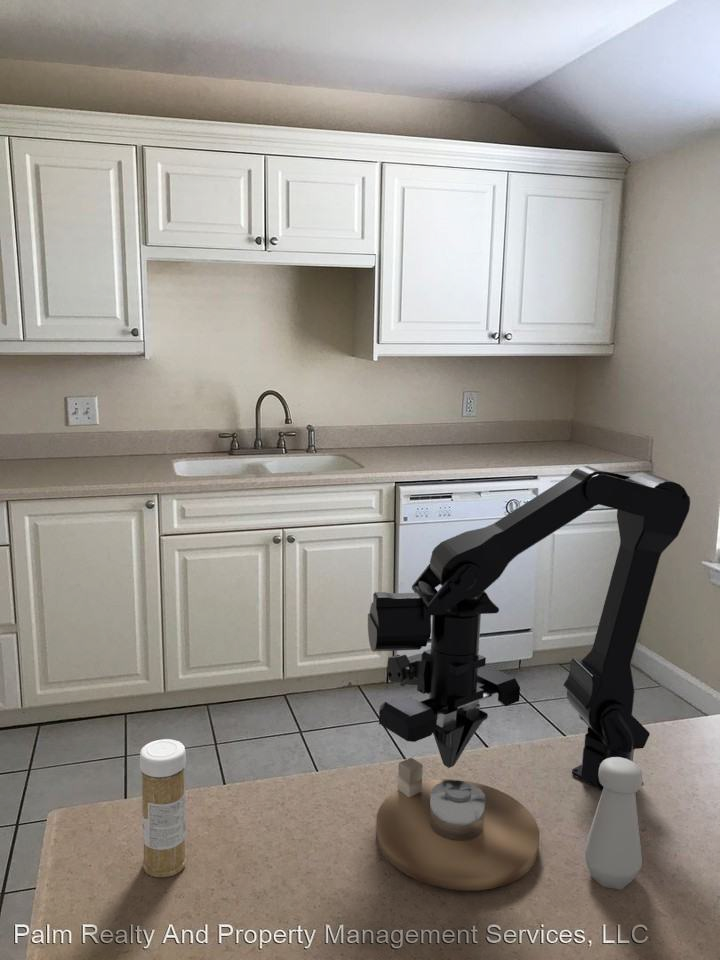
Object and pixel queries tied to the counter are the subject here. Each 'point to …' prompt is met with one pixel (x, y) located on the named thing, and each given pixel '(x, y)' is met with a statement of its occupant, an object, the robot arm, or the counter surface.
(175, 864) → the spice bottle
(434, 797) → the cover
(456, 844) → the disc
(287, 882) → the counter surface
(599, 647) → the robot arm
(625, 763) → the salt shaker
